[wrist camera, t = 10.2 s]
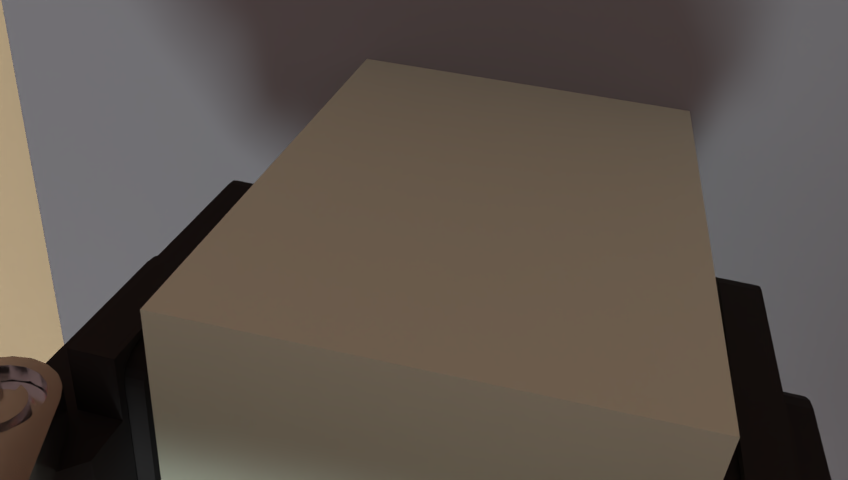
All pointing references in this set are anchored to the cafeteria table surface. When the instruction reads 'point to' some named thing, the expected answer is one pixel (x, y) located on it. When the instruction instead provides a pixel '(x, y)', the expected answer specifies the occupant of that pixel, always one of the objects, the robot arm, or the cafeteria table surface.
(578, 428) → the block
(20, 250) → the cafeteria table surface
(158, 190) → the mat
